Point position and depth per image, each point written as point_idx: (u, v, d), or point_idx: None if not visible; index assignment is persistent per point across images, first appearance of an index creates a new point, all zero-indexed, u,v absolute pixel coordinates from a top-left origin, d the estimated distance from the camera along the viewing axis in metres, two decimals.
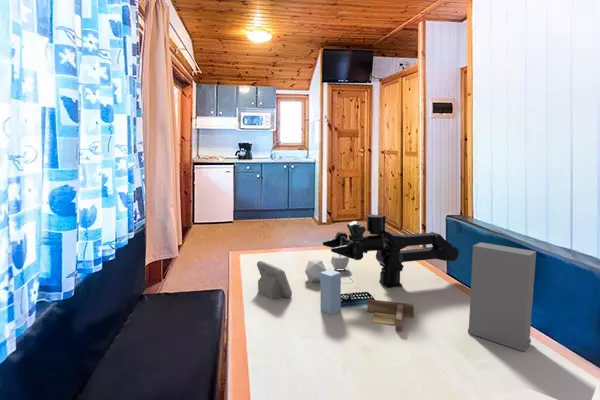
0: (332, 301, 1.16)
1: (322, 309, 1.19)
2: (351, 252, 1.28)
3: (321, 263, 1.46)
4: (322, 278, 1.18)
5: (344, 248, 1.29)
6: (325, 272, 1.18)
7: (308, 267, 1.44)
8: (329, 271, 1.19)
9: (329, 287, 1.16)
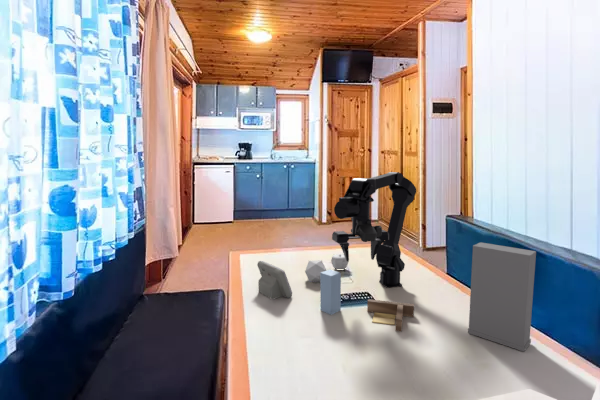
0: (332, 301, 1.16)
1: (322, 309, 1.19)
2: None
3: (321, 263, 1.46)
4: (322, 278, 1.18)
5: None
6: (325, 272, 1.18)
7: (308, 267, 1.44)
8: (329, 271, 1.19)
9: (329, 287, 1.16)
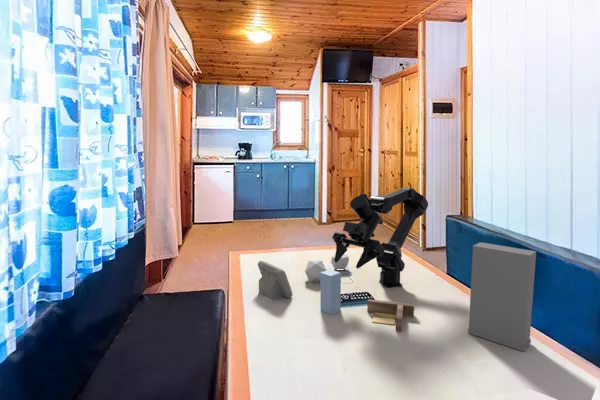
0: (332, 301, 1.16)
1: (322, 309, 1.19)
2: (373, 254, 1.20)
3: (321, 263, 1.46)
4: (322, 278, 1.18)
5: (365, 256, 1.20)
6: (325, 272, 1.18)
7: (308, 267, 1.44)
8: (329, 271, 1.19)
9: (329, 287, 1.16)
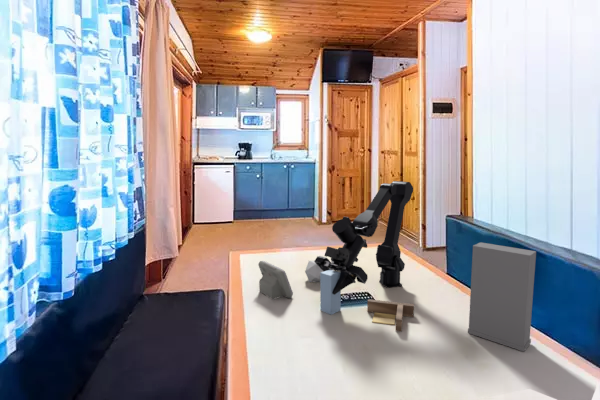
0: (332, 301, 1.16)
1: (322, 309, 1.19)
2: (350, 279, 1.17)
3: None
4: (322, 278, 1.18)
5: (342, 281, 1.16)
6: (325, 272, 1.18)
7: (308, 267, 1.44)
8: (329, 271, 1.19)
9: (329, 287, 1.16)
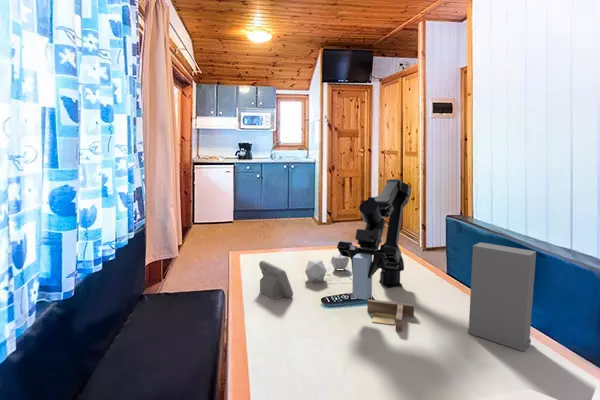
0: (367, 285, 1.11)
1: (355, 295, 1.12)
2: (383, 260, 1.13)
3: (321, 263, 1.46)
4: (355, 262, 1.11)
5: (376, 264, 1.12)
6: (357, 256, 1.12)
7: (308, 267, 1.44)
8: (360, 255, 1.13)
9: (365, 271, 1.10)
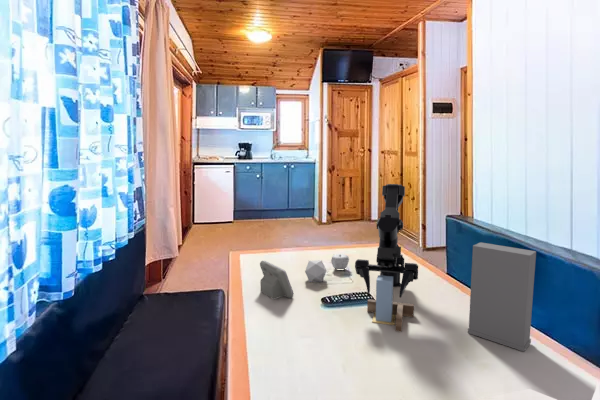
0: (391, 308, 1.10)
1: (378, 318, 1.11)
2: (411, 278, 1.12)
3: (321, 263, 1.46)
4: (379, 285, 1.10)
5: None
6: (380, 278, 1.11)
7: (308, 267, 1.44)
8: (381, 277, 1.12)
9: (389, 293, 1.09)
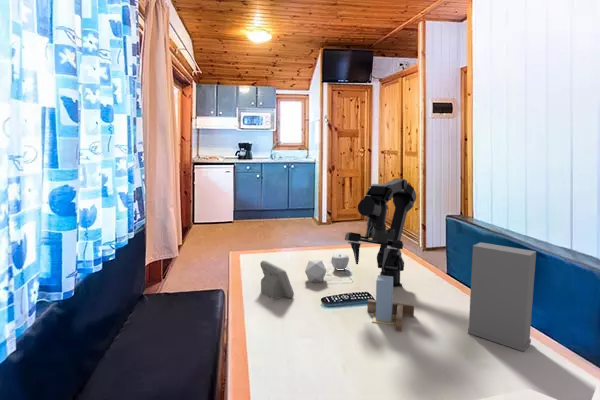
0: (391, 308, 1.10)
1: (378, 318, 1.11)
2: None
3: (321, 263, 1.46)
4: (379, 285, 1.10)
5: None
6: (380, 278, 1.11)
7: (308, 267, 1.44)
8: (381, 277, 1.12)
9: (389, 293, 1.09)
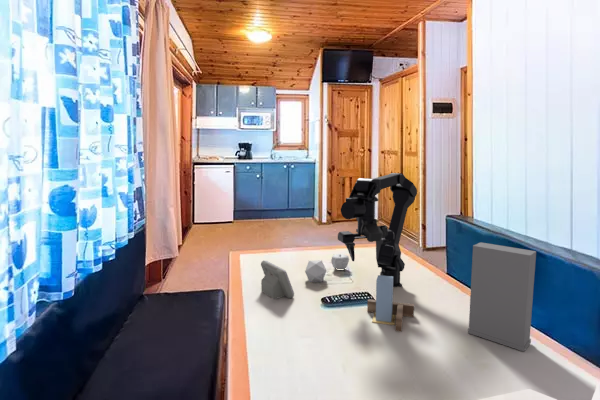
0: (391, 308, 1.10)
1: (378, 318, 1.11)
2: None
3: (321, 263, 1.46)
4: (379, 285, 1.10)
5: None
6: (380, 278, 1.11)
7: (308, 267, 1.44)
8: (381, 277, 1.12)
9: (389, 293, 1.09)
